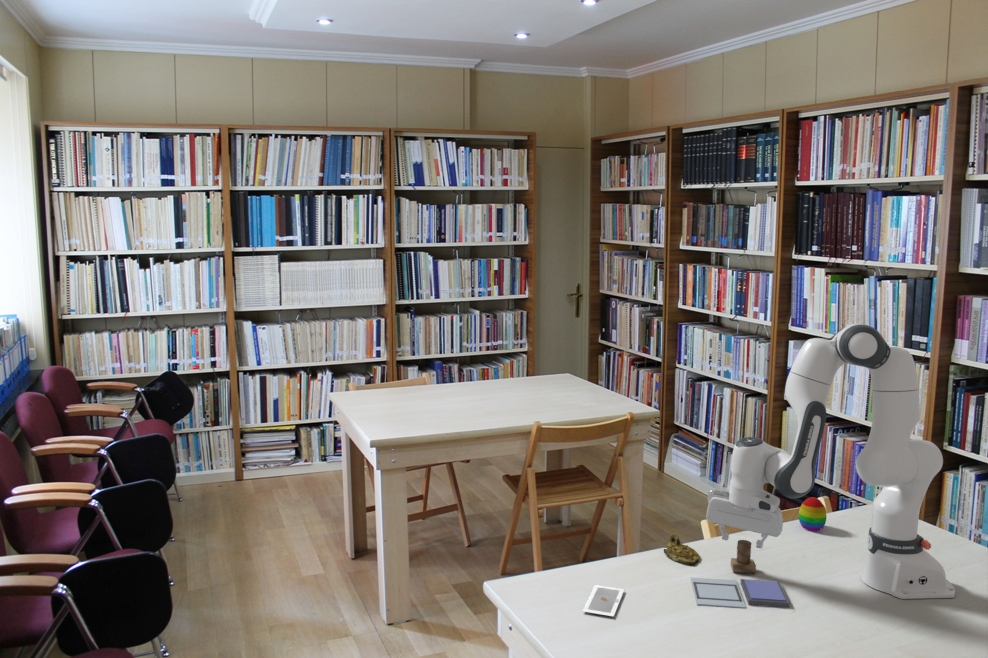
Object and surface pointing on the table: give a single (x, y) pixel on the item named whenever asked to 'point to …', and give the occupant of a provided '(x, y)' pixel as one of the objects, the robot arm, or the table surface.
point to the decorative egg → (812, 514)
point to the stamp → (743, 559)
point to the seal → (680, 552)
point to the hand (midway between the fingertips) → (742, 543)
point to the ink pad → (764, 593)
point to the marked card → (717, 592)
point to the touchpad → (603, 600)
